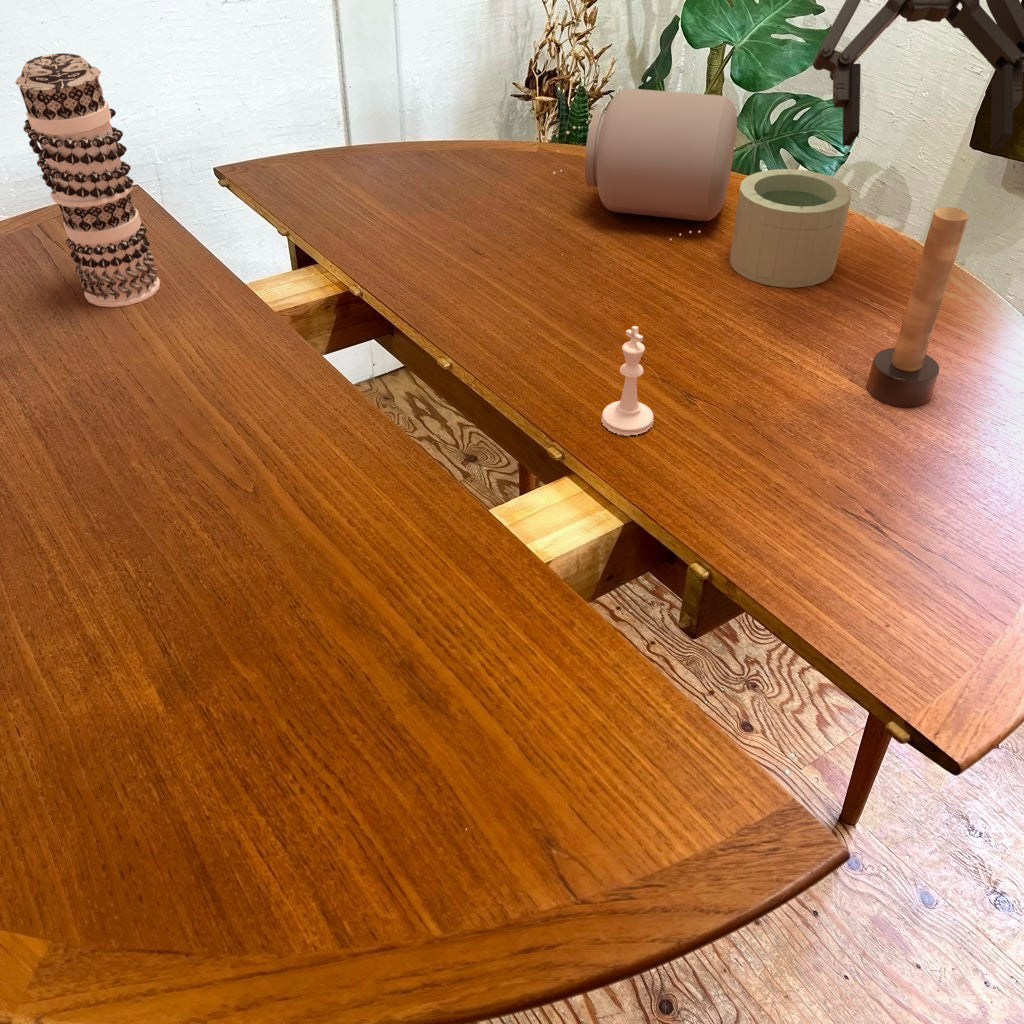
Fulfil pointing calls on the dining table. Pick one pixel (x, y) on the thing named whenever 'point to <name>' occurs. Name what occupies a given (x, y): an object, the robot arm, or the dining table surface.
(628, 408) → the chess piece
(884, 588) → the dining table surface
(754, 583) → the dining table surface
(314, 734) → the dining table surface
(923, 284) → the brush
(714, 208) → the jar
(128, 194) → the decorative candle
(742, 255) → the gray beige cylindrical container
